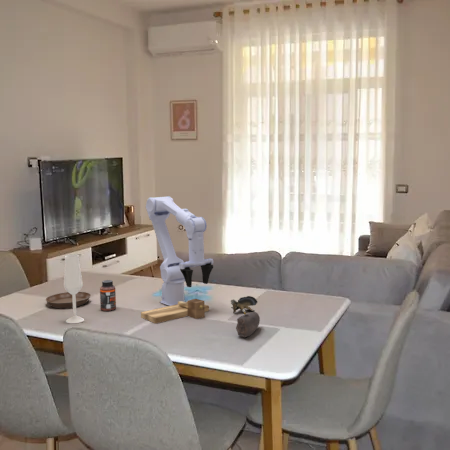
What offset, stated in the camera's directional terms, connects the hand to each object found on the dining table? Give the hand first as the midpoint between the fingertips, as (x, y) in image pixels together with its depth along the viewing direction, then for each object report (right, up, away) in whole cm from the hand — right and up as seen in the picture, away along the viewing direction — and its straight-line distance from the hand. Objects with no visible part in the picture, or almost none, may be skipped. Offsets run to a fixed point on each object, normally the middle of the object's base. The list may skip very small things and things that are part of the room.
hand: (197, 285), depth 212 cm
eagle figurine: (+18, -11, 0) cm, 20 cm away
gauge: (-2, -11, -2) cm, 11 cm away
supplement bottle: (-35, -10, +7) cm, 37 cm away
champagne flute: (-44, -12, -7) cm, 46 cm away
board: (-8, -11, -1) cm, 14 cm away
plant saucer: (-53, -10, +16) cm, 56 cm away
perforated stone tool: (+19, -14, -24) cm, 34 cm away
